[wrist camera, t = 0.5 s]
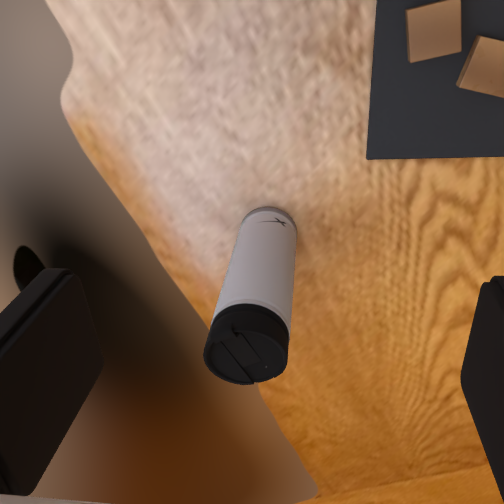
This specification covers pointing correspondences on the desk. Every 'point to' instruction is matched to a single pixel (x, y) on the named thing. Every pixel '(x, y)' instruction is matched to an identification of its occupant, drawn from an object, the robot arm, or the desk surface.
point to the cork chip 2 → (484, 67)
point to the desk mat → (431, 91)
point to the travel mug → (255, 301)
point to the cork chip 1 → (433, 30)
